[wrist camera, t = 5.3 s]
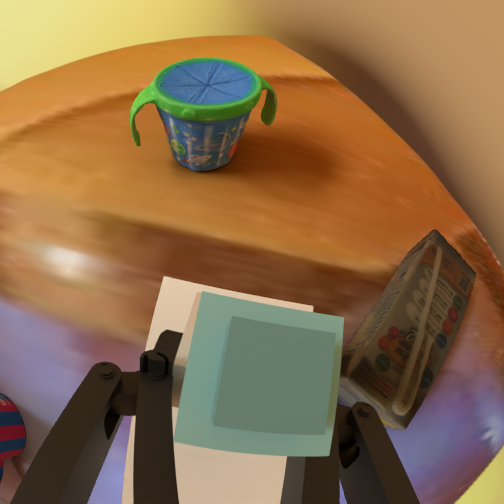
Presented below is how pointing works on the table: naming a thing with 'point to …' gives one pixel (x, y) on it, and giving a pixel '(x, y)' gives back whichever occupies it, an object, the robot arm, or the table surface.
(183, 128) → the sippy cup
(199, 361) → the plug
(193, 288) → the socket panel
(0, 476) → the cup
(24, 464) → the table surface
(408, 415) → the beverage carton
